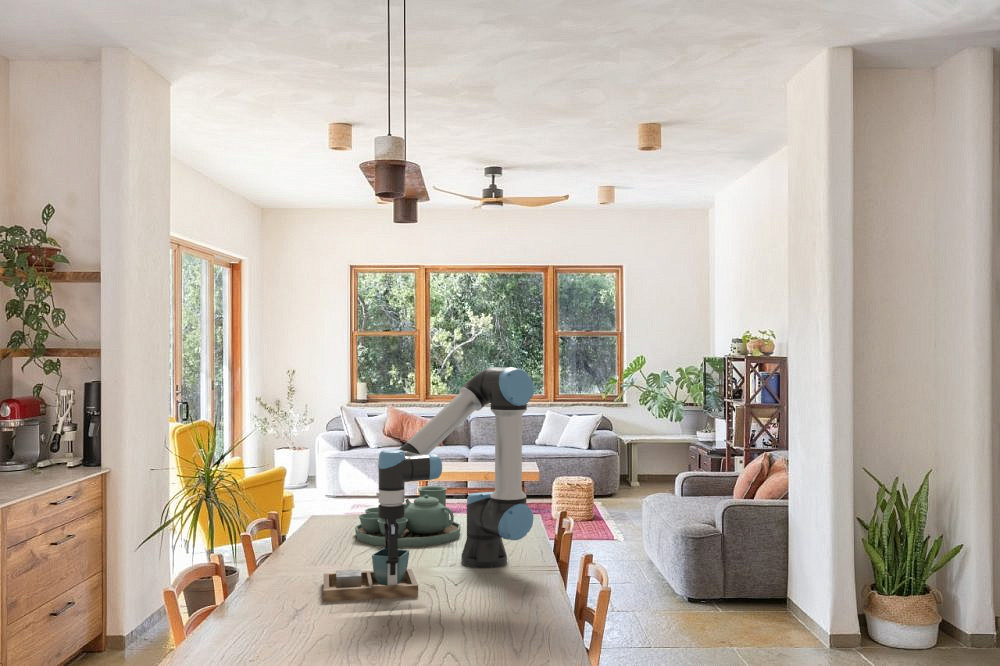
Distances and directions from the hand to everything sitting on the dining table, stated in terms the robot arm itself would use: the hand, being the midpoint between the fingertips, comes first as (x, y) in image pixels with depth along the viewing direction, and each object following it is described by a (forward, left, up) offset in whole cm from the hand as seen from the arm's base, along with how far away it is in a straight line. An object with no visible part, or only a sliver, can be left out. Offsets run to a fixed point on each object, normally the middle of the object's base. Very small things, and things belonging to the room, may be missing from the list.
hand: (390, 580), depth 240 cm
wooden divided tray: (+6, 0, -3) cm, 7 cm away
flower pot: (0, 0, -1) cm, 1 cm away
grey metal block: (+12, 0, -2) cm, 12 cm away
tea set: (-12, -73, -4) cm, 74 cm away
